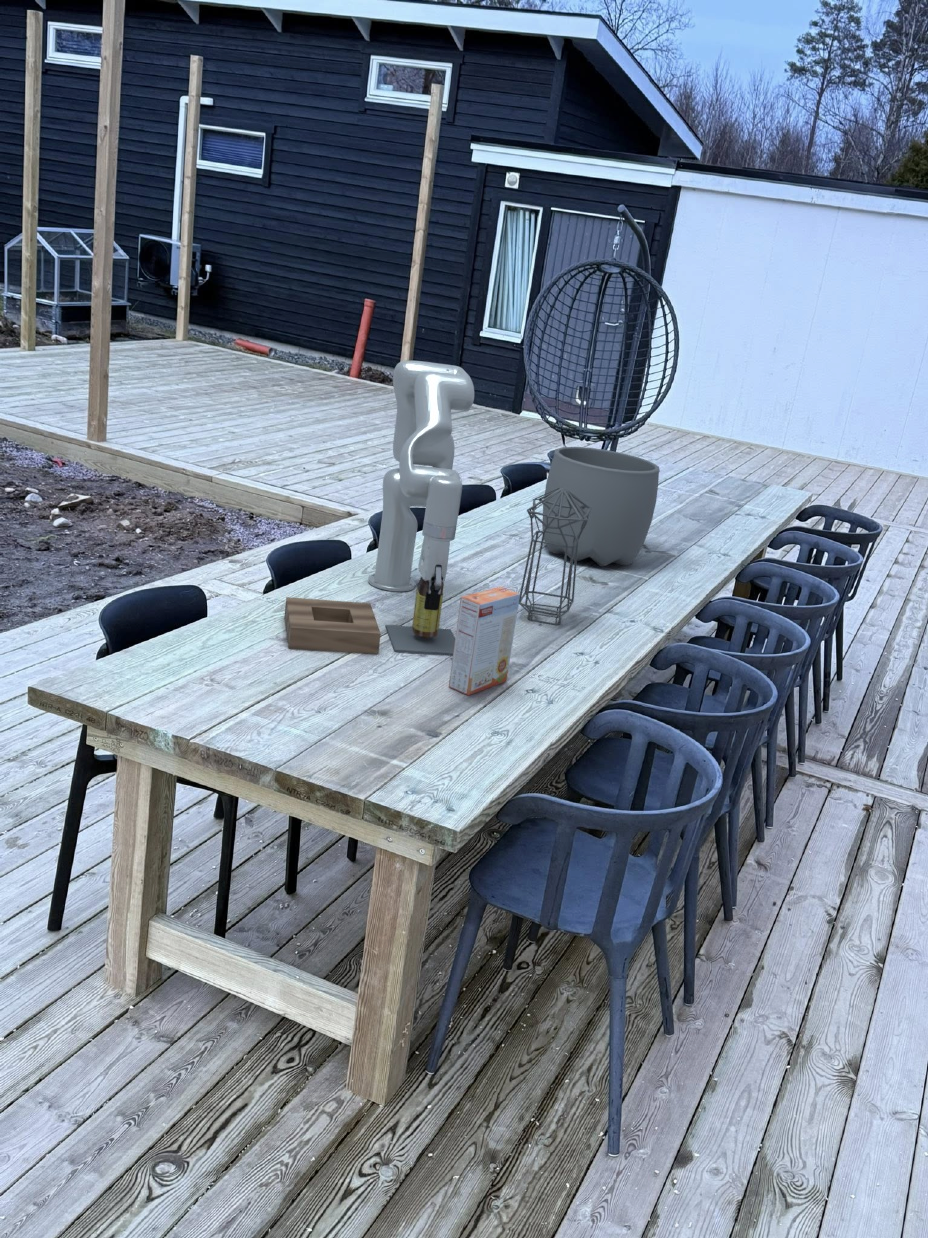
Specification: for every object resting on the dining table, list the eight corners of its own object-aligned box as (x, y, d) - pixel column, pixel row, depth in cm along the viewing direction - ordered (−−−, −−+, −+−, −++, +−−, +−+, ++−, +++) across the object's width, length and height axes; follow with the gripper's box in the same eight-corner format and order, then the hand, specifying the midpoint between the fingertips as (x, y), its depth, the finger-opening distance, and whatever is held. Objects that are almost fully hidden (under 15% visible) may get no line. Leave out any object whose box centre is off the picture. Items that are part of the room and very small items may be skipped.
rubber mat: (385, 626, 271) (385, 624, 270) (450, 631, 274) (450, 629, 274) (394, 652, 256) (394, 649, 256) (462, 656, 260) (463, 654, 259)
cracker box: (486, 673, 252) (500, 585, 245) (507, 682, 249) (522, 593, 242) (445, 686, 241) (459, 594, 234) (467, 696, 238) (482, 603, 231)
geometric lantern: (569, 633, 286) (591, 499, 274) (508, 622, 288) (527, 489, 277) (576, 614, 301) (596, 486, 289) (518, 604, 303) (536, 476, 291)
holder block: (284, 616, 267) (286, 597, 265) (367, 622, 271) (370, 603, 270) (288, 648, 248) (290, 627, 247) (378, 654, 253) (380, 633, 251)
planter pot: (523, 555, 348) (540, 455, 338) (547, 533, 379) (563, 441, 369) (634, 580, 340) (655, 478, 330) (649, 556, 371) (669, 462, 360)
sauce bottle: (423, 627, 269) (434, 547, 262) (443, 635, 265) (455, 555, 259) (405, 632, 264) (416, 551, 257) (424, 641, 260) (436, 559, 254)
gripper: (417, 518, 263) (407, 590, 269) (429, 539, 247) (418, 616, 253) (448, 521, 265) (437, 593, 271) (462, 542, 249) (450, 618, 255)
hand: (428, 603), depth 262 cm, fingers closed on sauce bottle, 6 cm apart
